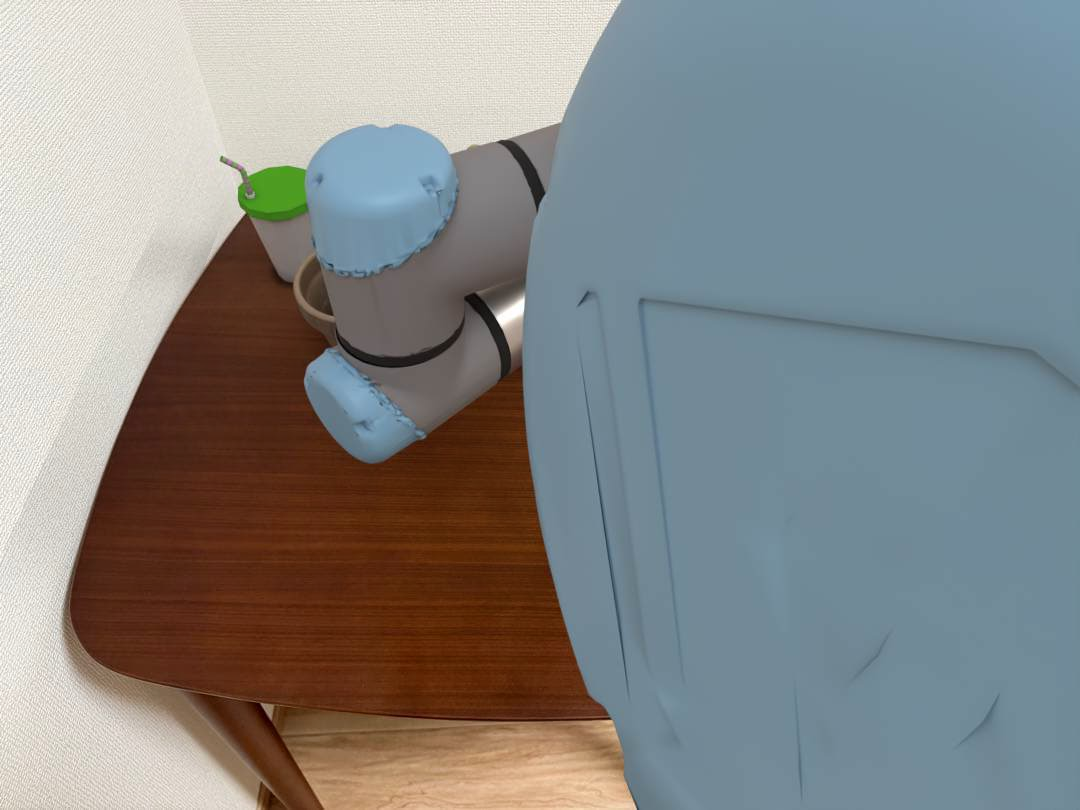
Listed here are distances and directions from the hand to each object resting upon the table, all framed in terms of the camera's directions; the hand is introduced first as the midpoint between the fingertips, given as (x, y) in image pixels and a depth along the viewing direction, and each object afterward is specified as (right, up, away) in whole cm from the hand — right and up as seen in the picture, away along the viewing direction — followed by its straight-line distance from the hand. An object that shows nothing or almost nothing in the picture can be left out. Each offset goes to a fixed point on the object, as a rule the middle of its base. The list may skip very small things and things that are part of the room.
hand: (710, 175), depth 66 cm
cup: (-40, -4, +22) cm, 45 cm away
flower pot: (-30, -14, +14) cm, 36 cm away
